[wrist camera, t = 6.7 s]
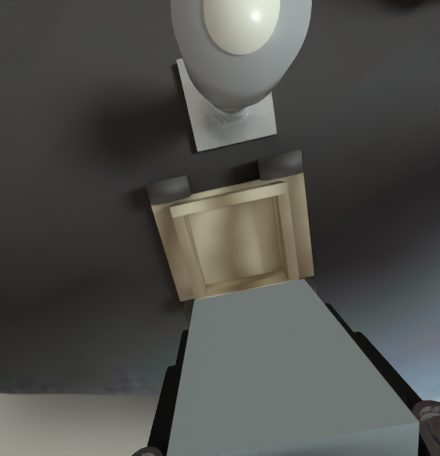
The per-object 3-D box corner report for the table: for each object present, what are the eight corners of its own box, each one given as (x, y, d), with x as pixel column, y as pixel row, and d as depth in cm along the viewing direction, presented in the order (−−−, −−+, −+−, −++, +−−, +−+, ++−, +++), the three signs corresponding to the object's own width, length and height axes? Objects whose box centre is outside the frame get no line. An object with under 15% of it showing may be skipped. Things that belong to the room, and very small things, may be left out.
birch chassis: (297, 150, 22) (314, 146, 18) (312, 286, 26) (328, 306, 22) (147, 184, 22) (133, 186, 19) (185, 310, 27) (180, 334, 23)
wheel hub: (280, -28, 11) (305, -111, 8) (293, 97, 13) (319, 71, 9) (170, 1, 11) (151, -68, 8) (197, 119, 13) (189, 102, 10)
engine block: (303, 278, 9) (467, 482, 3) (314, 365, 11) (445, 628, 5) (194, 300, 10) (153, 528, 3) (217, 383, 11) (218, 655, 5)
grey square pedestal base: (262, 41, 19) (281, -15, 13) (275, 134, 21) (296, 120, 15) (177, 63, 20) (160, 17, 14) (198, 152, 22) (190, 145, 16)
